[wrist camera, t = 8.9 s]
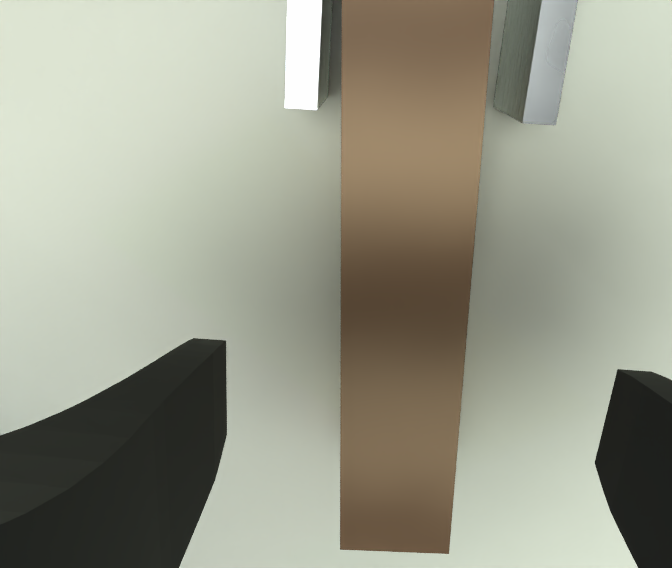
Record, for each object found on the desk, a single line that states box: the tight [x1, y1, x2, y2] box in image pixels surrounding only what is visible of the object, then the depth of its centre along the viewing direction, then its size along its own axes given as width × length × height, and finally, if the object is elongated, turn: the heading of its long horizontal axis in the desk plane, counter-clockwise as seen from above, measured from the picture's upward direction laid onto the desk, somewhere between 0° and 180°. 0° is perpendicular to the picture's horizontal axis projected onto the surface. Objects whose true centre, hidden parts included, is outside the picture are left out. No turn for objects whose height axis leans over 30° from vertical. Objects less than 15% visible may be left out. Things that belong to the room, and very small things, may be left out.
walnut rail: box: [340, 0, 494, 554], centre depth 18 cm, size 16×3×6 cm, turn 0°
